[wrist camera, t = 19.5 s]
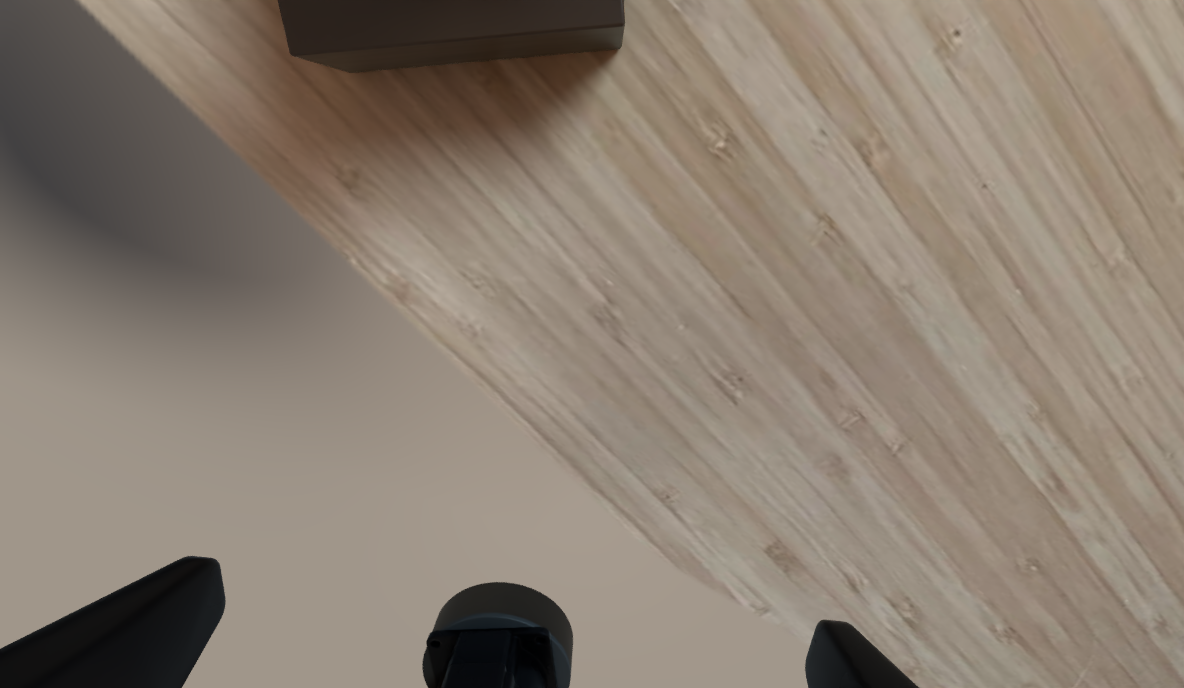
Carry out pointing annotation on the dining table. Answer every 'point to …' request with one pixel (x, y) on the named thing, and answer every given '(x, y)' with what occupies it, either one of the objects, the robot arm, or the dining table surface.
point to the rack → (445, 30)
